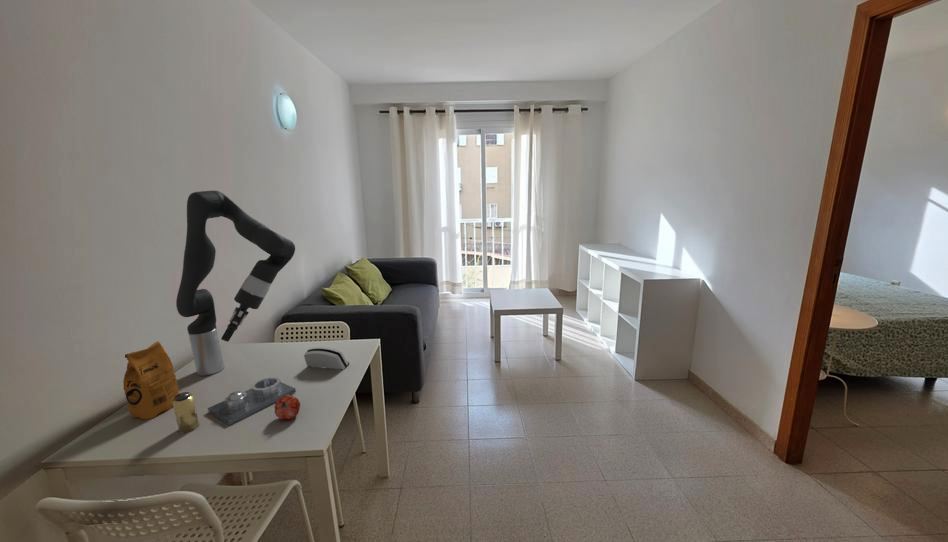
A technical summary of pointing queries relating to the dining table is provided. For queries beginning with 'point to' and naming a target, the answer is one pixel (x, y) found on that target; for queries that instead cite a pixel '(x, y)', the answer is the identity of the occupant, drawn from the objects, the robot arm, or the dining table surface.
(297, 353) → the dining table surface
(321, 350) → the grey rounded block
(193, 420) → the gold and black cylinder
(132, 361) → the coffee package
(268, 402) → the fitting plate
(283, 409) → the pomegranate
